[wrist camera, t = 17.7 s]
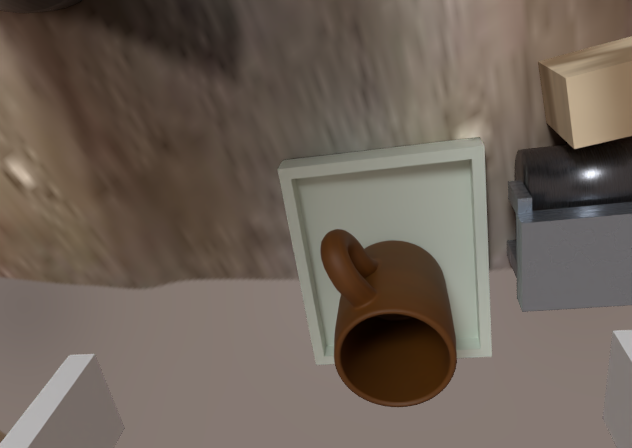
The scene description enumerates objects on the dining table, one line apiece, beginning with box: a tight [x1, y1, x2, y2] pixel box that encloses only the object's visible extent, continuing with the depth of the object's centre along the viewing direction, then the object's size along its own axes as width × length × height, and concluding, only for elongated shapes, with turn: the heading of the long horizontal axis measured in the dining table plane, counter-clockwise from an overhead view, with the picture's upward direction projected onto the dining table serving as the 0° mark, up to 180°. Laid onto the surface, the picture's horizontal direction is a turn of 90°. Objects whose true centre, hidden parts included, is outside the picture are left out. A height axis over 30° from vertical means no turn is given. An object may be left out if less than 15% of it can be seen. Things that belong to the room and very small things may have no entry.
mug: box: [320, 229, 457, 407], centre depth 36 cm, size 12×8×9 cm, turn 32°
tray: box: [277, 137, 492, 365], centre depth 40 cm, size 14×17×2 cm
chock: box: [538, 36, 632, 149], centre depth 31 cm, size 6×4×6 cm, turn 107°
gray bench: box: [507, 137, 632, 312], centre depth 34 cm, size 11×9×7 cm
